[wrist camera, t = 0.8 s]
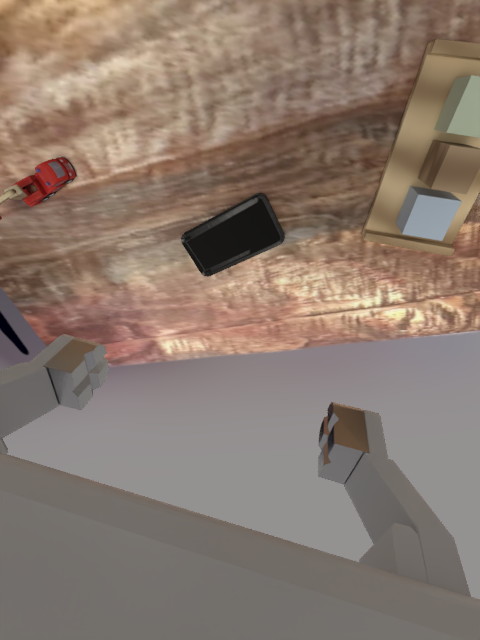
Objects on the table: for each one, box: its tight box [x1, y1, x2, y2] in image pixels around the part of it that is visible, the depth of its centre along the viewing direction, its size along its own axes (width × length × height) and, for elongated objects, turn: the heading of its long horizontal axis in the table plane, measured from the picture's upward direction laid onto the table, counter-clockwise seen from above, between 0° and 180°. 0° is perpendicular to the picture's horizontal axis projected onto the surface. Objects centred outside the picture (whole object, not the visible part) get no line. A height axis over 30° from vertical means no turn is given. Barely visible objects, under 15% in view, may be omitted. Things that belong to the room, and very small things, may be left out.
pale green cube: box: [434, 75, 480, 138], centre depth 31 cm, size 4×4×4 cm
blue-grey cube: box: [396, 186, 462, 241], centre depth 37 cm, size 4×4×4 cm
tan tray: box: [362, 39, 480, 256], centre depth 35 cm, size 20×11×8 cm, turn 173°
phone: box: [181, 193, 284, 276], centre depth 48 cm, size 8×1×15 cm
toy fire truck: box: [0, 157, 76, 220], centre depth 46 cm, size 3×14×10 cm, turn 118°
